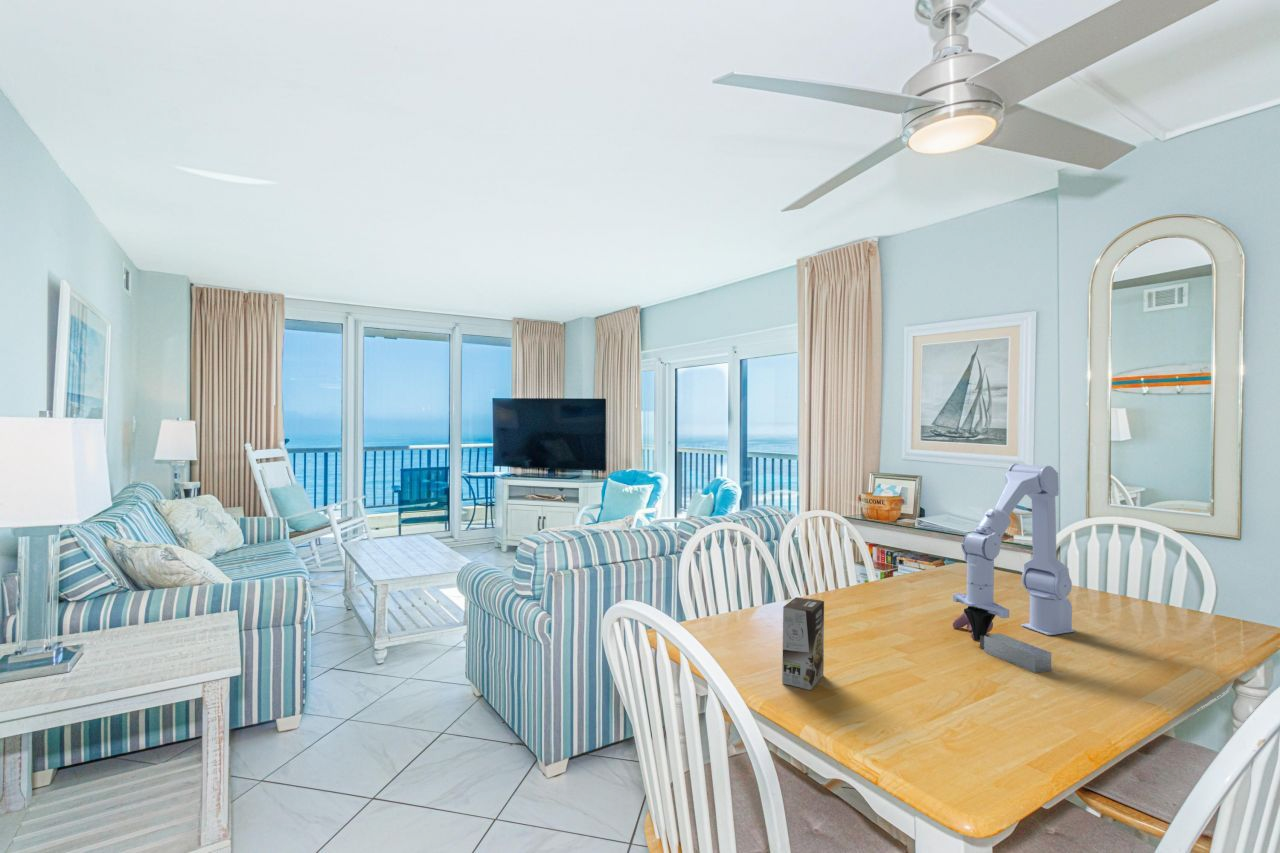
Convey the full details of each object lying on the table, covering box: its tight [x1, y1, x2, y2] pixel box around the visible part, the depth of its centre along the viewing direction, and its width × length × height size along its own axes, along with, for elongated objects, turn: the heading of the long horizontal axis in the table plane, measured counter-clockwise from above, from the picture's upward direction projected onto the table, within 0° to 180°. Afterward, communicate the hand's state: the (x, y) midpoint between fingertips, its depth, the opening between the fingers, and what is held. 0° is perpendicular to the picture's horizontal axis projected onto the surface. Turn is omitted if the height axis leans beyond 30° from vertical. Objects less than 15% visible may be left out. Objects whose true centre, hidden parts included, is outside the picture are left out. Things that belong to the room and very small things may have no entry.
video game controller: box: [952, 611, 994, 641], centre depth 160 cm, size 10×5×7 cm, turn 3°
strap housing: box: [983, 632, 1052, 674], centre depth 142 cm, size 5×13×4 cm, turn 19°
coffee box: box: [781, 597, 825, 691], centre depth 131 cm, size 9×6×16 cm
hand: (979, 639), depth 151 cm, fingers closed
